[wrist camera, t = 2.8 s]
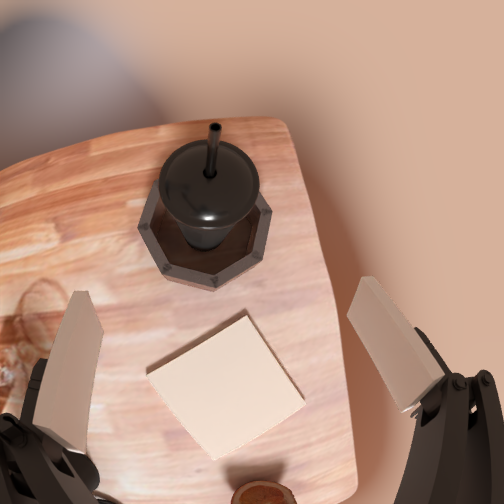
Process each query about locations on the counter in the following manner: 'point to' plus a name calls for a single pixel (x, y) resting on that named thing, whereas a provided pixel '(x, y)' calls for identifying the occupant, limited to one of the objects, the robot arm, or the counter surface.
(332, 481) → the counter surface
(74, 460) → the milk frother
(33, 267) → the counter surface
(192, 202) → the drinking cup
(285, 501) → the fruit slice
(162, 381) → the coaster
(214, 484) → the counter surface
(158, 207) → the grey octagonal ring
